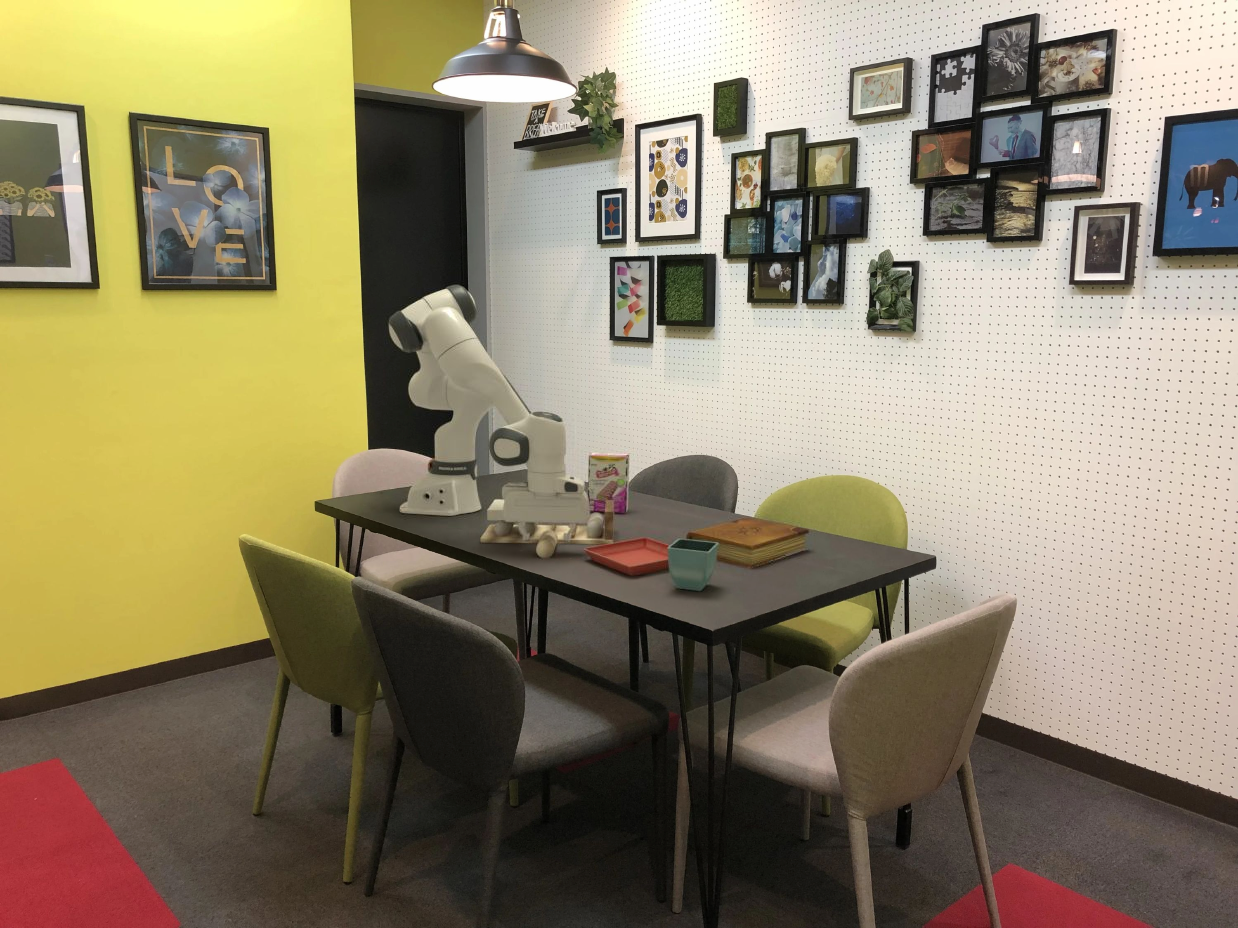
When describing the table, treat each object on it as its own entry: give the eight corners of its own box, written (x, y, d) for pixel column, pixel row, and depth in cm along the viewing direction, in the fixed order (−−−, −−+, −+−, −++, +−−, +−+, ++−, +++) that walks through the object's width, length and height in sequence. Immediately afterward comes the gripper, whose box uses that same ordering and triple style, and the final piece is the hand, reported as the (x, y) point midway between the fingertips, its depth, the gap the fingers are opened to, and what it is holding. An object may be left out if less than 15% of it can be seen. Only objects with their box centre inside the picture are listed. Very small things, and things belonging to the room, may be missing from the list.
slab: (487, 520, 225) (487, 510, 225) (495, 508, 238) (494, 499, 238) (536, 520, 225) (536, 510, 225) (541, 509, 238) (541, 500, 238)
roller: (537, 559, 212) (535, 542, 212) (541, 546, 223) (540, 530, 223) (554, 557, 212) (552, 540, 212) (558, 545, 223) (556, 529, 223)
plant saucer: (629, 580, 196) (629, 565, 196) (582, 561, 211) (582, 547, 210) (694, 567, 207) (695, 553, 206) (645, 550, 221) (645, 537, 221)
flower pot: (718, 583, 194) (719, 541, 192) (708, 595, 185) (709, 551, 184) (677, 579, 196) (678, 537, 195) (665, 590, 188) (666, 547, 187)
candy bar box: (587, 512, 260) (587, 454, 258) (589, 509, 265) (590, 452, 262) (627, 514, 259) (627, 456, 256) (628, 510, 264) (629, 453, 261)
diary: (744, 539, 235) (744, 516, 234) (807, 552, 222) (808, 529, 221) (685, 554, 218) (686, 530, 218) (751, 570, 206) (752, 544, 205)
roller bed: (480, 542, 225) (480, 509, 224) (489, 528, 240) (489, 497, 239) (612, 544, 225) (613, 512, 224) (613, 530, 240) (614, 499, 239)
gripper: (499, 484, 212) (500, 543, 214) (589, 485, 212) (588, 544, 214) (503, 479, 218) (504, 536, 220) (590, 481, 218) (590, 538, 220)
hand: (546, 540), depth 217 cm, fingers open, 8 cm apart
